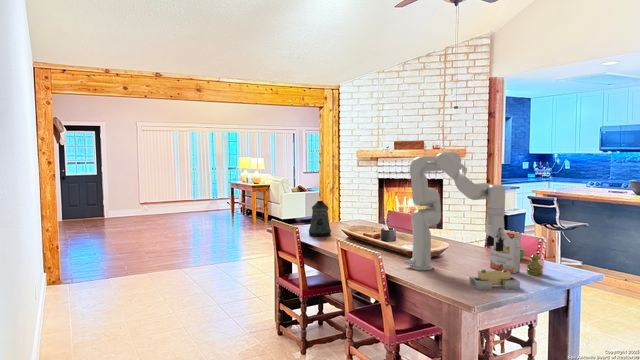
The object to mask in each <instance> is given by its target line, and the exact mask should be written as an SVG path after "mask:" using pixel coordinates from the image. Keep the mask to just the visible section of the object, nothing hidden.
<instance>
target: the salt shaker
mask: <svg viewBox="0 0 640 360" xmlns="http://www.w3.org/2000/svg"><path fill="white" fill-rule="evenodd" d="M529 258H530V259H531V261H529V263H527V264H526V273H527V275H530V276H534V277H538V276H539V277H540V276H543V273H544V270H543V269H544V265H542V264H541V263H540V262H539V260H540V259H541V258H542V257H541V256H540V255H538V254H536V253H535V254H532V255H530V256H529Z"/></svg>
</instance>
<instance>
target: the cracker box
mask: <svg viewBox="0 0 640 360" xmlns="http://www.w3.org/2000/svg"><path fill="white" fill-rule="evenodd" d="M504 233H505V237H504V242H503V251H496V242H497V240H496V237H492V238H494V246H490V260H489V261H490V262H489V265H490V266H489V268H490V269H494V270H497V271H502V269H506V270H507V271H509V272H510V274H516V273H520V271H521V270H520V269H521V259H520V243H522V242H521V241H522V240H521V239H522V236H521V235H522V232H516V231H512V230H506V229H504ZM498 239H499V238H498Z"/></svg>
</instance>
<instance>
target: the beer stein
mask: <svg viewBox="0 0 640 360" xmlns="http://www.w3.org/2000/svg"><path fill="white" fill-rule="evenodd" d="M329 209H330V208H329V206H328V205H327V204H326V203H325V202H324V200H317V201H316V203H314V204H313V206H311V210H312V212H311V213H312V214H311V220H310V225H309V228H308V235H309V236H310V237H314V238H326V237H331V234H332V229H331V226H330V220H329Z"/></svg>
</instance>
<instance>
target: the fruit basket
mask: <svg viewBox="0 0 640 360" xmlns="http://www.w3.org/2000/svg"><path fill="white" fill-rule="evenodd" d="M521 243H522V242H521ZM521 243H520V260H522V259H523V257H524V255H525V253H526V250H524V249H522V245H521Z"/></svg>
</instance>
